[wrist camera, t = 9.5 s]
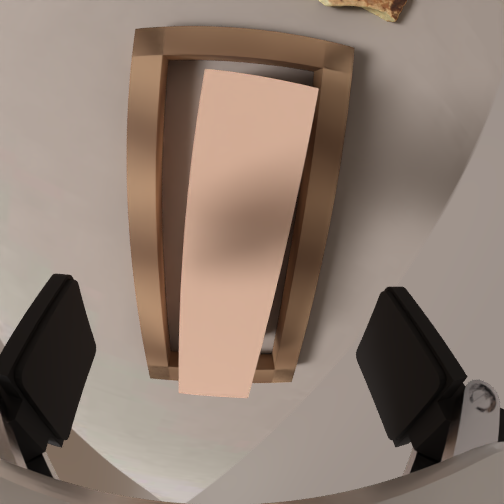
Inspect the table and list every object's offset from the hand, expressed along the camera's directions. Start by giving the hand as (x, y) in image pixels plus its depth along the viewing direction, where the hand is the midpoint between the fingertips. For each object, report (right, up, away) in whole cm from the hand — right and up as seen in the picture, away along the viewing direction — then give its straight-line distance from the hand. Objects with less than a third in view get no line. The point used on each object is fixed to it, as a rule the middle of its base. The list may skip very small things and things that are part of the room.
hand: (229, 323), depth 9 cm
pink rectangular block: (-1, +3, +9) cm, 9 cm away
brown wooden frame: (-1, +3, +9) cm, 9 cm away
